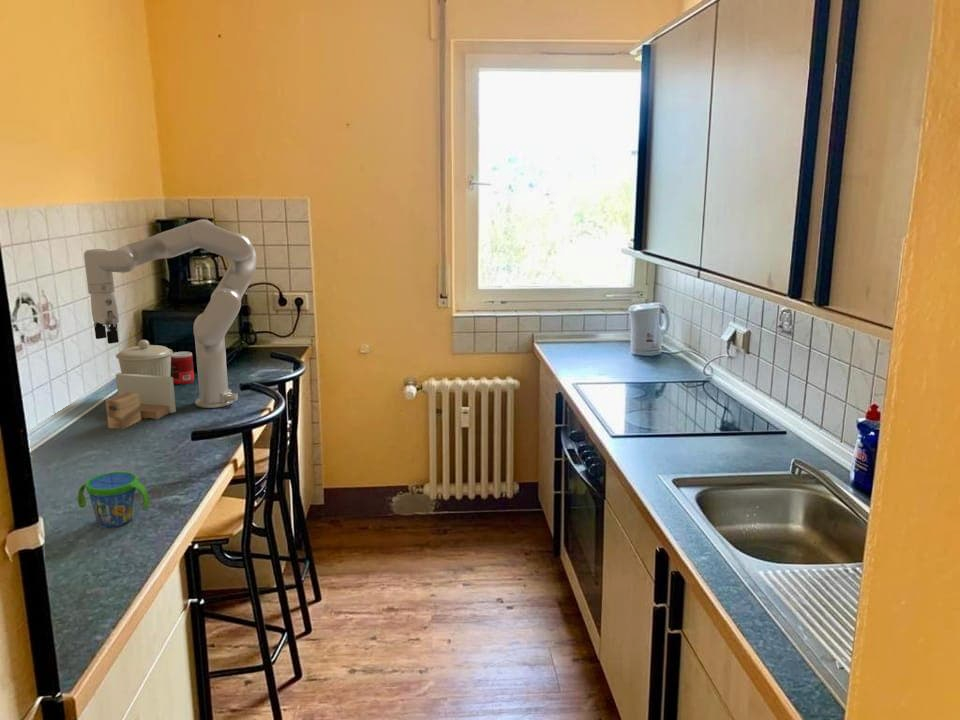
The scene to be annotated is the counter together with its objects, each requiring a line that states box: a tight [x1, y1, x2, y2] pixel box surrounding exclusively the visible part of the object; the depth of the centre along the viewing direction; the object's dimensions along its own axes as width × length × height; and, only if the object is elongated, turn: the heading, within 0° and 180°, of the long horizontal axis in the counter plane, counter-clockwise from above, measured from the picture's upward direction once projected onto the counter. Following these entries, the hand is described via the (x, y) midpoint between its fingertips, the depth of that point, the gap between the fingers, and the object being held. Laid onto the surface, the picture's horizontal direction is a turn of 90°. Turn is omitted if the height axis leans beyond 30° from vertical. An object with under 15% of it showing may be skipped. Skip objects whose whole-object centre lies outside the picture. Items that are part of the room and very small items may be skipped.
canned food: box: [171, 351, 195, 385], centre depth 287 cm, size 8×8×11 cm
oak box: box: [105, 393, 142, 430], centre depth 239 cm, size 5×10×9 cm, turn 167°
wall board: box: [115, 372, 177, 420], centre depth 250 cm, size 20×8×12 cm, turn 77°
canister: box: [115, 339, 174, 377], centre depth 265 cm, size 18×18×21 cm
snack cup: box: [77, 471, 150, 528], centre depth 174 cm, size 16×10×10 cm
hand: (107, 340), depth 247 cm, fingers open, 9 cm apart
